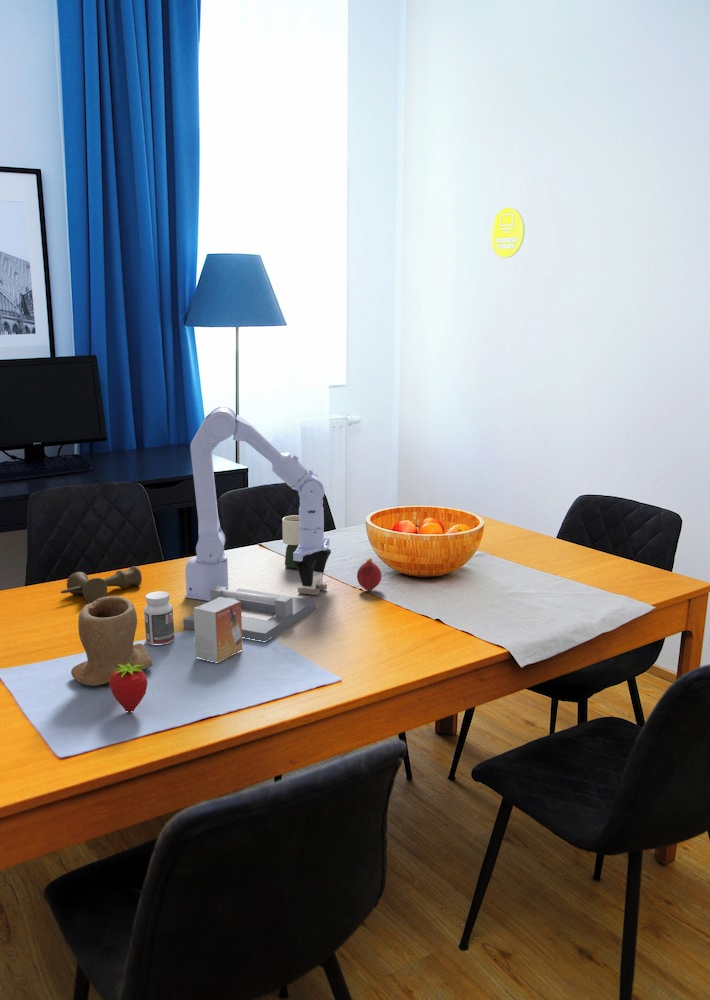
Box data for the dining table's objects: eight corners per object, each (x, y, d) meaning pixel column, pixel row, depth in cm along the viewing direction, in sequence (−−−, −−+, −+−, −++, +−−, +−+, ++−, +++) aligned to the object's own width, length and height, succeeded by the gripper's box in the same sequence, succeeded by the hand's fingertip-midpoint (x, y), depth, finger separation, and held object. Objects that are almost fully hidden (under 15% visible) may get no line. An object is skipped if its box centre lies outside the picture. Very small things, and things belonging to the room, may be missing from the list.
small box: (217, 665, 170) (214, 612, 168) (194, 659, 173) (192, 607, 170) (243, 651, 177) (241, 600, 174) (221, 645, 179) (219, 595, 177)
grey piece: (183, 628, 189) (182, 602, 188) (239, 596, 208) (238, 573, 207) (265, 642, 180) (264, 616, 179) (315, 608, 200) (315, 584, 199)
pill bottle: (179, 637, 183) (177, 592, 181) (165, 648, 178) (162, 600, 176) (155, 634, 185) (152, 589, 183) (140, 644, 180) (137, 598, 178)
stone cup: (94, 698, 156) (88, 617, 153) (63, 677, 165) (57, 600, 161) (169, 673, 166) (165, 597, 163) (136, 655, 175) (132, 582, 171)
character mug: (320, 568, 229) (320, 519, 226) (298, 574, 224) (297, 524, 222) (295, 559, 237) (294, 512, 234) (273, 565, 233) (272, 516, 230)
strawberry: (135, 699, 156) (131, 645, 153) (157, 714, 150) (153, 658, 148) (103, 710, 152) (99, 655, 149) (125, 725, 146) (121, 668, 144)
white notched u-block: (297, 592, 210) (297, 576, 209) (308, 586, 214) (308, 570, 214) (316, 595, 208) (316, 579, 207) (326, 588, 212) (326, 572, 211)
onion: (379, 595, 208) (379, 563, 206) (354, 594, 209) (354, 561, 207) (383, 587, 214) (383, 555, 212) (359, 586, 215) (359, 554, 213)
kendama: (149, 591, 214) (71, 609, 201) (128, 583, 221) (51, 600, 207) (148, 567, 213) (69, 583, 199) (127, 560, 220) (50, 575, 206)
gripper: (312, 536, 200) (313, 593, 203) (340, 521, 212) (341, 576, 215) (284, 532, 202) (286, 589, 206) (314, 518, 215) (315, 572, 218)
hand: (312, 582), depth 211 cm, fingers closed on white notched u-block, 5 cm apart
